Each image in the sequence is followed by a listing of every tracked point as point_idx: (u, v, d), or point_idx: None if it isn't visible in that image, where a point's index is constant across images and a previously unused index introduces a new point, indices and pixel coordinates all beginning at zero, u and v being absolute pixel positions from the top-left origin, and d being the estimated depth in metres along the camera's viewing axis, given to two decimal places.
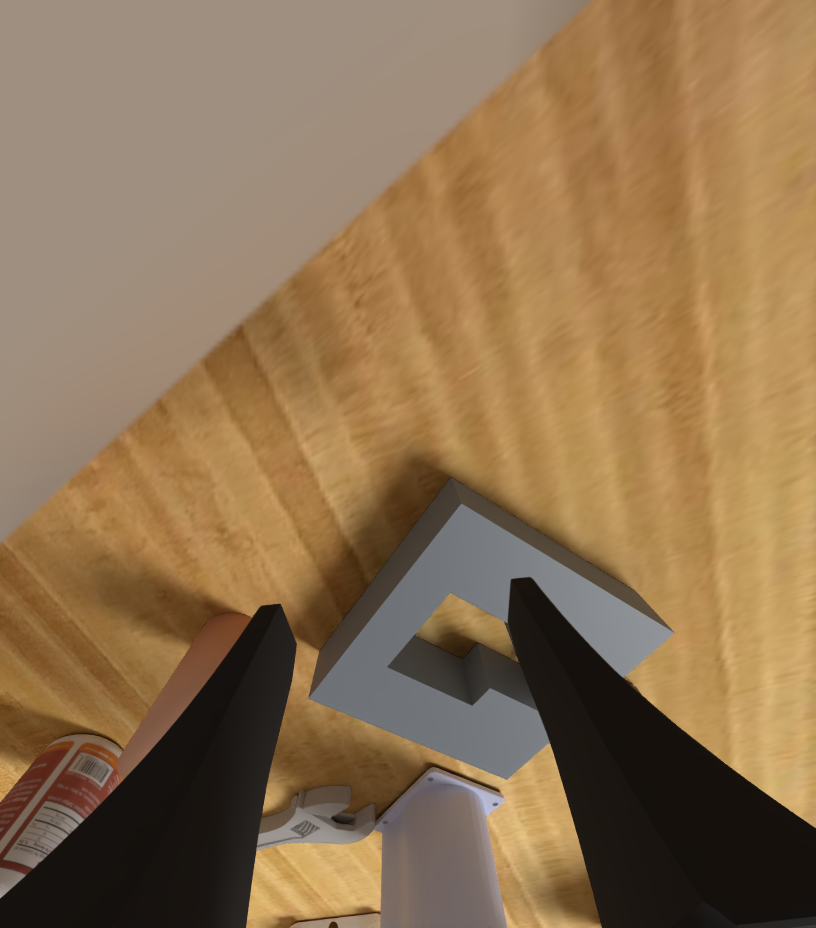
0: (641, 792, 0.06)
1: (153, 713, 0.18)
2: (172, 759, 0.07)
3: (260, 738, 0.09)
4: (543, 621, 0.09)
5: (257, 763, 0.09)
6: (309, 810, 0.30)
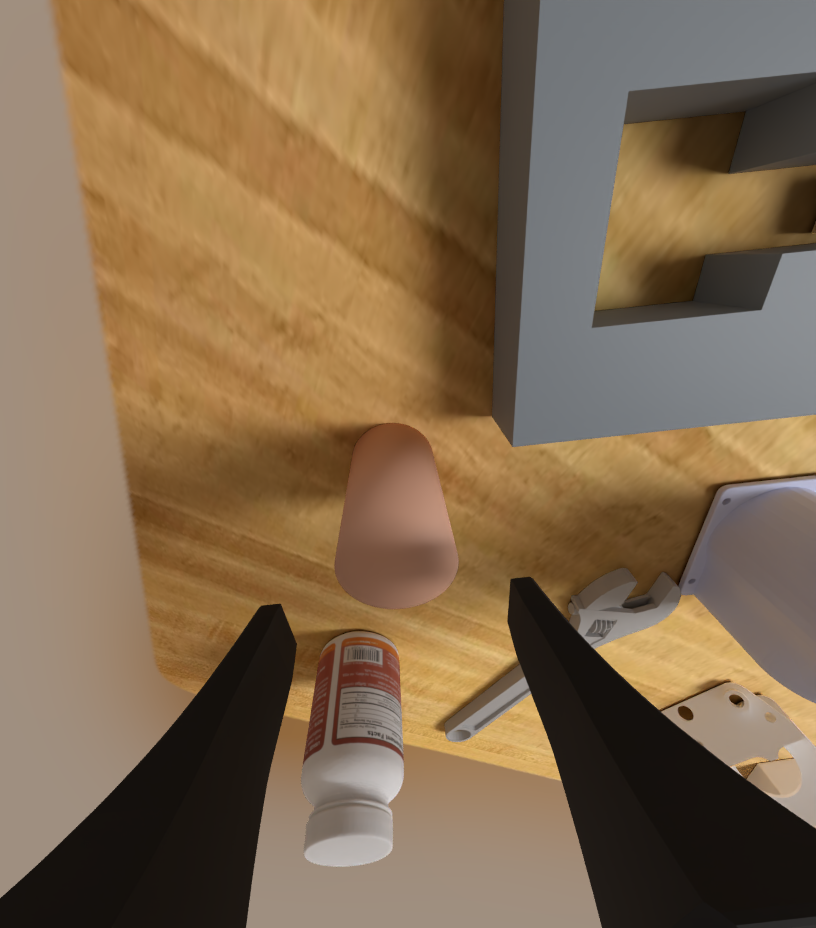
0: (641, 792, 0.06)
1: (342, 524, 0.14)
2: (172, 759, 0.07)
3: (260, 737, 0.09)
4: (543, 621, 0.09)
5: (257, 763, 0.09)
6: (594, 607, 0.25)
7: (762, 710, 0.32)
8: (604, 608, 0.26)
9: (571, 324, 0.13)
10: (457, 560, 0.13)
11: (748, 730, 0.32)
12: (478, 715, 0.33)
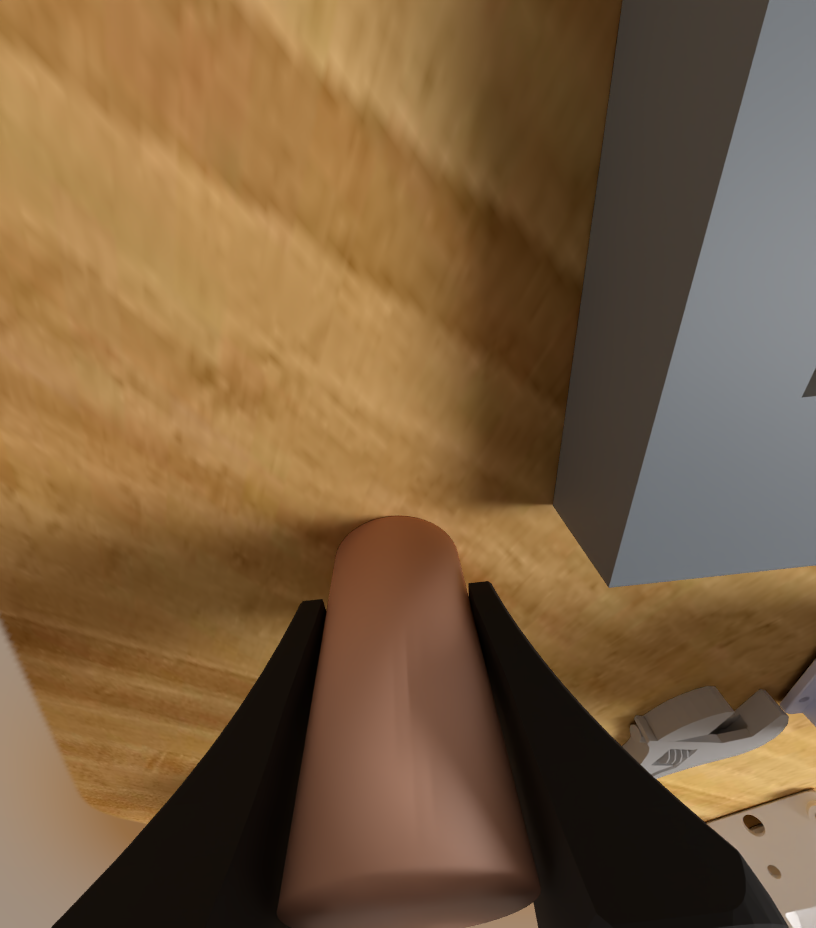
0: (559, 801, 0.06)
1: (299, 787, 0.07)
2: (238, 752, 0.07)
3: None
4: (493, 626, 0.09)
5: None
6: (669, 738, 0.19)
7: None
8: (682, 738, 0.19)
9: (764, 391, 0.07)
10: (538, 893, 0.06)
11: None
12: None
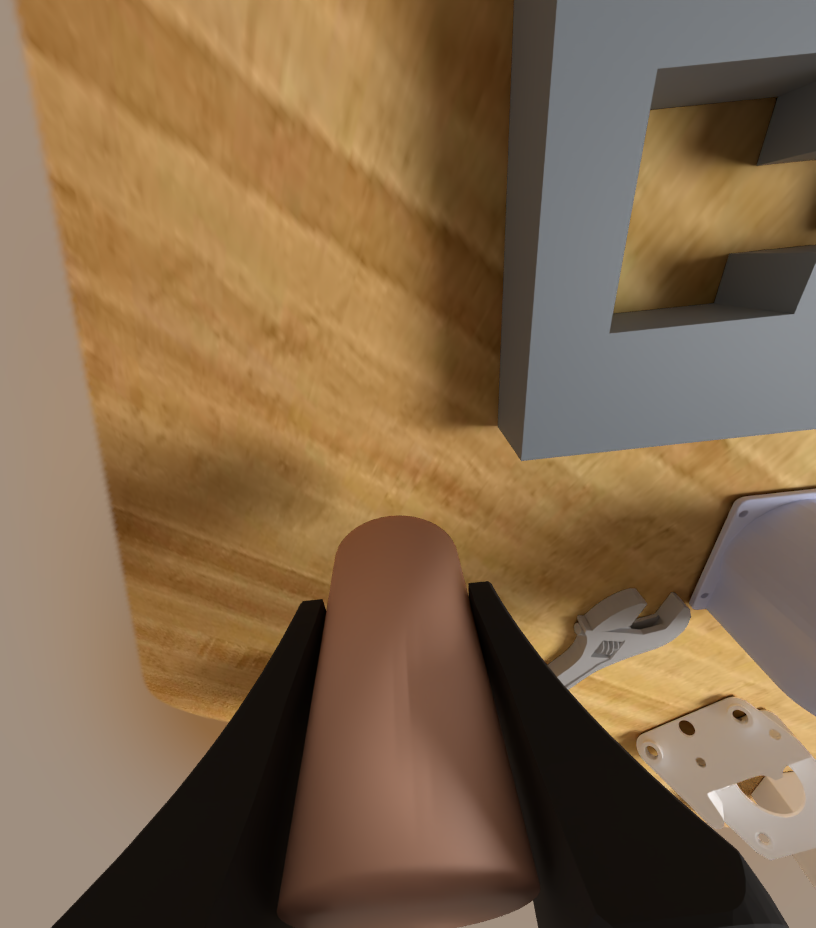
0: (559, 801, 0.06)
1: (300, 785, 0.07)
2: (238, 752, 0.07)
3: None
4: (493, 626, 0.09)
5: None
6: (601, 628, 0.25)
7: (766, 727, 0.31)
8: (612, 629, 0.25)
9: (587, 329, 0.12)
10: (537, 891, 0.06)
11: (752, 747, 0.31)
12: None
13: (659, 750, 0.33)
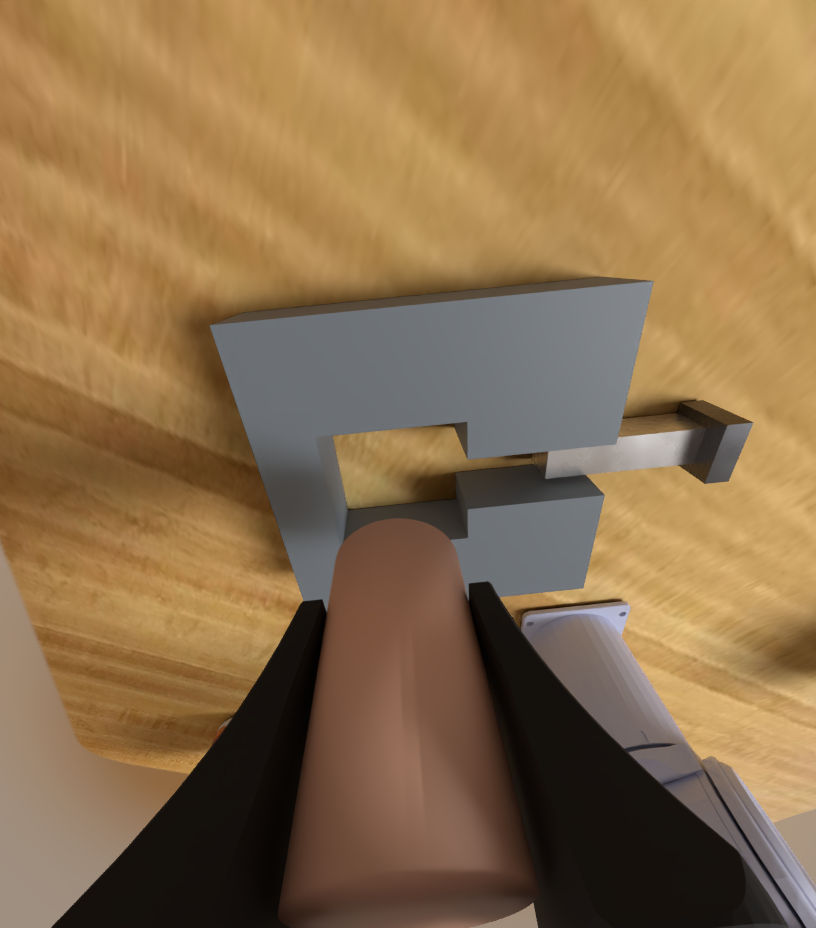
0: (559, 801, 0.06)
1: (302, 785, 0.07)
2: (238, 752, 0.07)
3: None
4: (493, 626, 0.09)
5: None
6: None
7: None
8: None
9: (325, 549, 0.18)
10: (536, 897, 0.06)
11: None
12: None
13: None
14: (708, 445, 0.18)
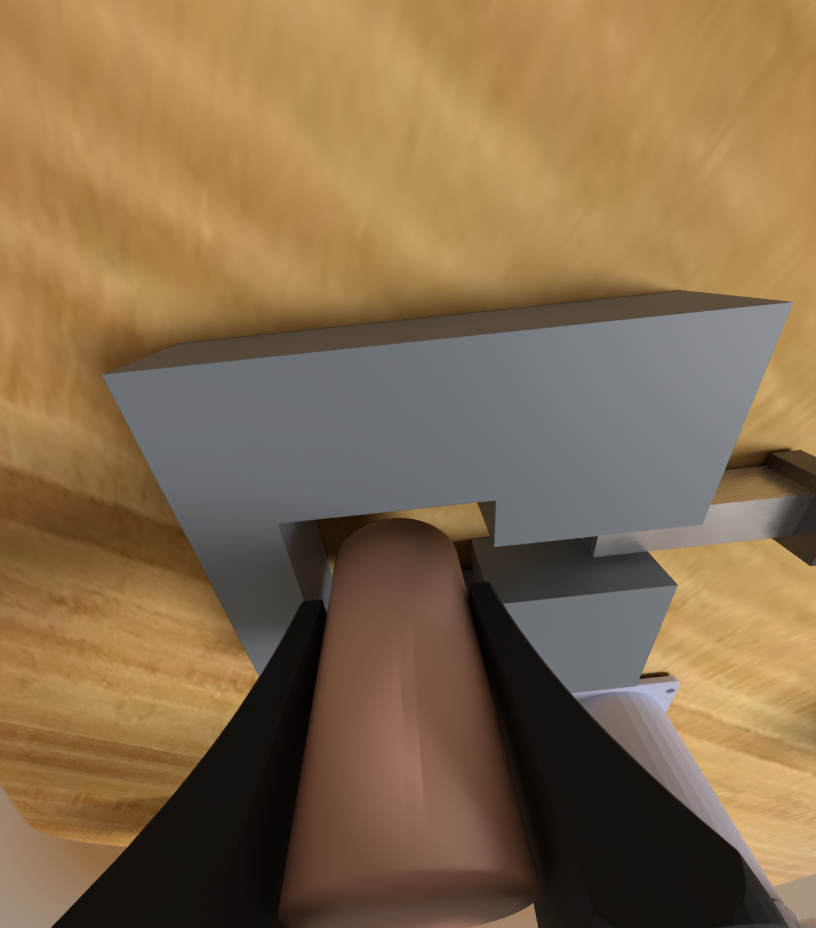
0: (559, 801, 0.06)
1: (303, 785, 0.07)
2: (238, 752, 0.07)
3: None
4: (493, 626, 0.09)
5: None
6: None
7: None
8: None
9: None
10: (536, 896, 0.06)
11: None
12: None
13: None
14: None
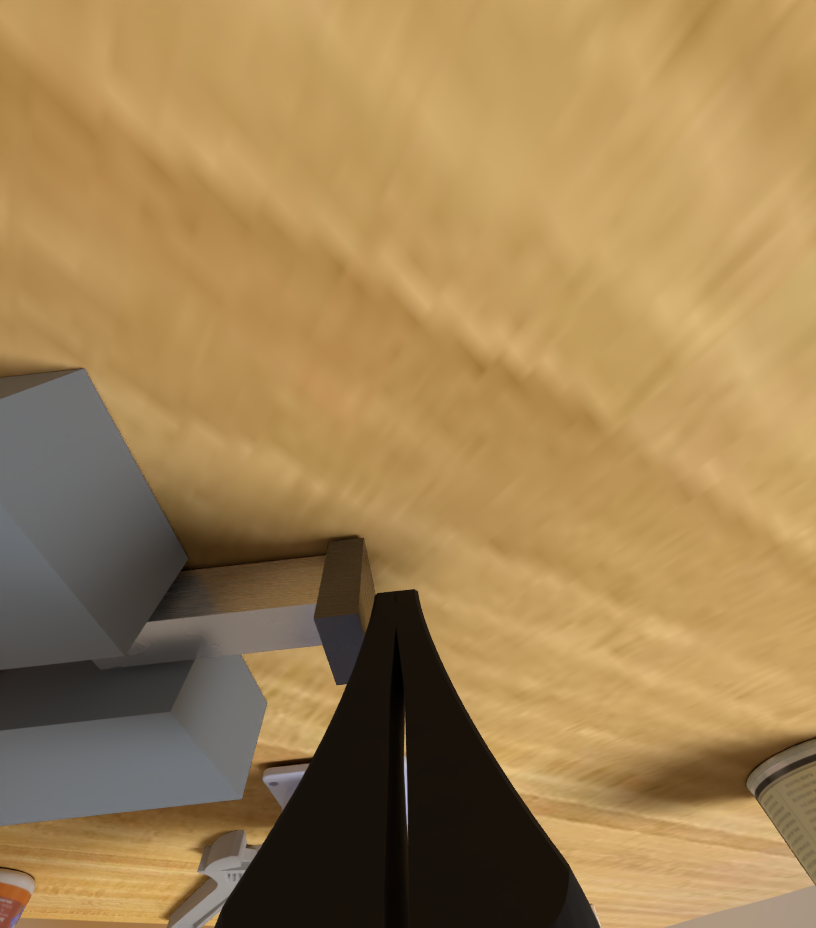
0: (416, 817, 0.06)
1: None
2: (356, 739, 0.07)
3: (400, 722, 0.09)
4: (405, 636, 0.09)
5: (400, 747, 0.09)
6: (212, 869, 0.25)
7: None
8: (225, 868, 0.25)
9: None
10: None
11: None
12: (187, 919, 0.32)
13: None
14: None
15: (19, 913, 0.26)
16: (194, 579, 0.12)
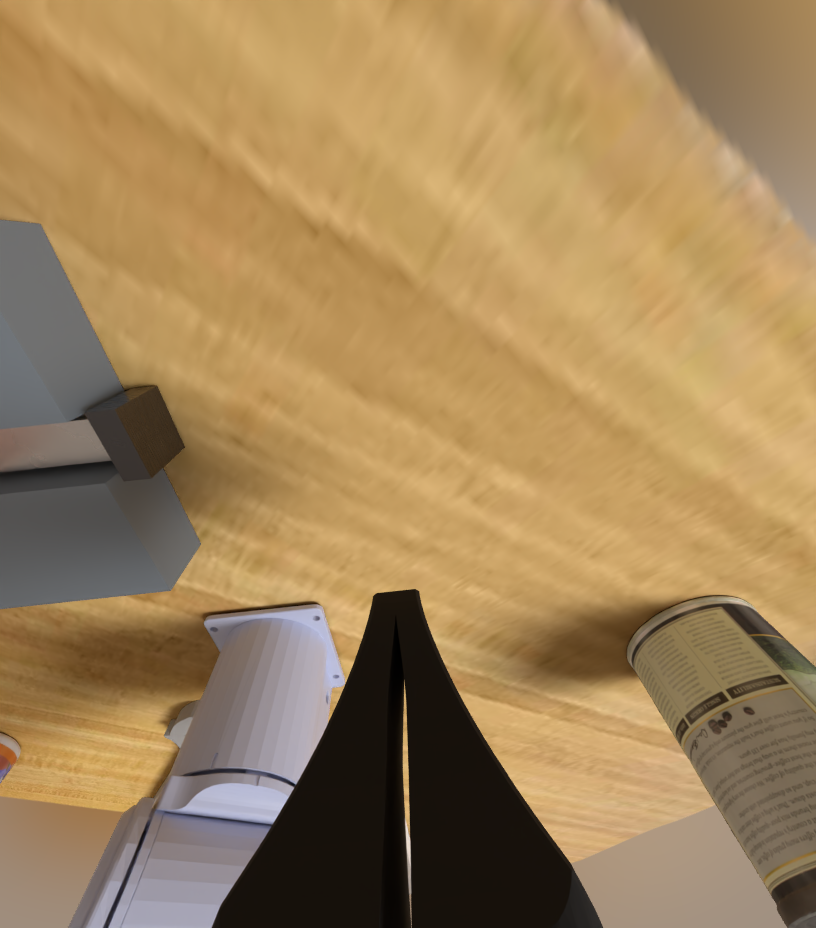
0: (418, 817, 0.06)
1: None
2: (354, 739, 0.07)
3: (398, 722, 0.09)
4: (406, 636, 0.09)
5: (399, 747, 0.09)
6: (176, 734, 0.30)
7: None
8: None
9: None
10: None
11: None
12: None
13: None
14: None
15: (6, 768, 0.30)
16: None
